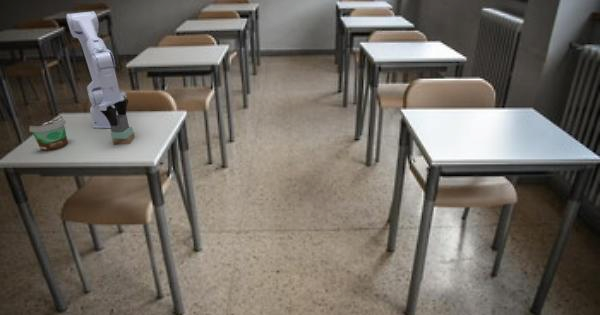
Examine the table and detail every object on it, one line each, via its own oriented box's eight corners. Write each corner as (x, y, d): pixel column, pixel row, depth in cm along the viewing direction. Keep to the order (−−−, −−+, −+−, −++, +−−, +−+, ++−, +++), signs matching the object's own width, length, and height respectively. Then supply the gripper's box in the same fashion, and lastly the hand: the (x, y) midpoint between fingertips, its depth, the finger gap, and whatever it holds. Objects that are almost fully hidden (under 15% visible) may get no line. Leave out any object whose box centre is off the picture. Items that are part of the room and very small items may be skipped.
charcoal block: (111, 131, 153) (108, 119, 151) (118, 127, 157) (114, 114, 155) (123, 132, 152) (119, 119, 150) (129, 127, 156) (126, 114, 154)
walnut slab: (113, 145, 154) (112, 139, 153) (119, 139, 159) (117, 133, 158) (130, 144, 154) (128, 138, 153) (135, 138, 160) (133, 132, 158)
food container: (46, 155, 148) (37, 129, 143) (36, 151, 151) (27, 126, 146) (78, 142, 157) (71, 117, 152) (69, 139, 160) (61, 114, 155)
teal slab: (112, 138, 154) (110, 132, 152) (119, 132, 158) (118, 126, 157) (126, 138, 153) (124, 132, 152) (133, 132, 158) (132, 126, 157)
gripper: (109, 93, 140) (118, 130, 146) (130, 80, 153) (138, 115, 159) (89, 92, 141) (99, 129, 147) (112, 80, 154) (121, 115, 160)
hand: (118, 122), depth 153 cm, fingers open, 6 cm apart
